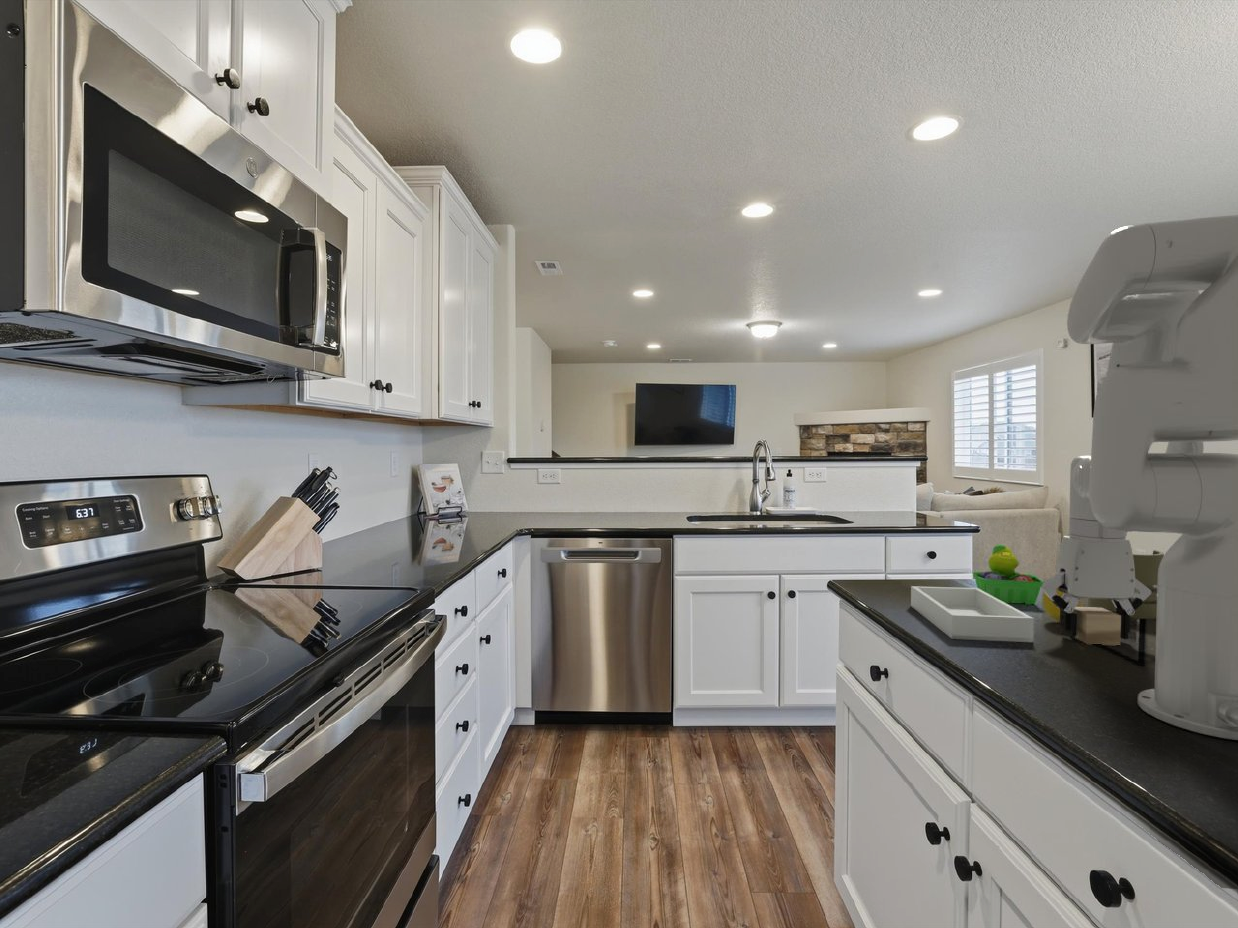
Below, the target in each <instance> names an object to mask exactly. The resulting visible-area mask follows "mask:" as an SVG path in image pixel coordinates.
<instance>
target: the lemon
mask: <svg viewBox="0 0 1238 928" xmlns="http://www.w3.org/2000/svg"><path fill="white" fill-rule="evenodd" d="M1056 593H1057V594H1058V595H1059V596H1060V597H1061V596H1062V595H1063V592H1060V591H1058V590H1057V589H1056ZM1042 603H1043V607H1044V609H1045V612H1046V613H1047V615H1049V616H1050V617H1052V618H1053V619H1055V620H1056V621H1057V622H1058V623H1059V622H1060V609H1059V608H1057V606H1056V605H1055V604H1054V603H1053V602H1052V601H1051V600H1050V599H1049V597H1048V596H1047V595H1046V594H1045V593H1044V592H1043V595H1042ZM1076 607H1081V600H1080V601H1079V602H1078V604H1077V606H1076Z"/></svg>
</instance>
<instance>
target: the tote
mask: <svg viewBox="0 0 1238 928" xmlns="http://www.w3.org/2000/svg"><path fill="white" fill-rule="evenodd" d="M910 588H911V589H910V606H911V608H913V609H914V610H915V611H917V612H918V613H919V614H920V615H922V616H923V617H924V618H925V619H927V620H928V621H929V622H930V623H931V624H933V625H934V626H935V627H936V628H937V629H939V630H940V631H941V632H943V633H944V634H945V635H946V636H948V637H949V638H950V639H951V640H967V641H968V640H971V641H972V640H973V641H991V642H993V641H994V642H1015V643H1016V642H1019V643H1034V631H1035V630H1034V629H1035V628H1034V625H1035V624H1034V622H1035V619H1034V617H1032V616H1030V615H1028V614H1027V613H1025V612H1023V611H1021V610H1019V609H1018V608H1015V607H1014V606H1012V605H1010V604H1009V603H1005V602H1003V601H1001V600H999V599H997V598H995V597H993V596H992V595H990V594H988V593H986V592H984V591H982V590H980V589H979V588H977V587H976V588H975V587H951V586H950V587H947V586H946V587H944V586H942V587H941V586H913V585H911V587H910Z"/></svg>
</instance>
